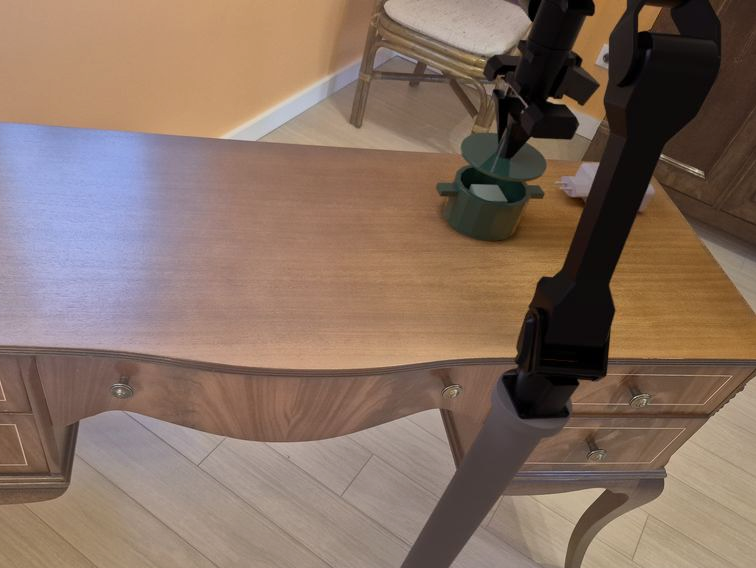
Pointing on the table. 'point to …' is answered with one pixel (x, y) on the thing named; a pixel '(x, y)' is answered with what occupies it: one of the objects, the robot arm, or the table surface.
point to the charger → (584, 180)
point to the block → (488, 192)
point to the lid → (502, 158)
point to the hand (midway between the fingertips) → (505, 152)
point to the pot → (485, 205)
